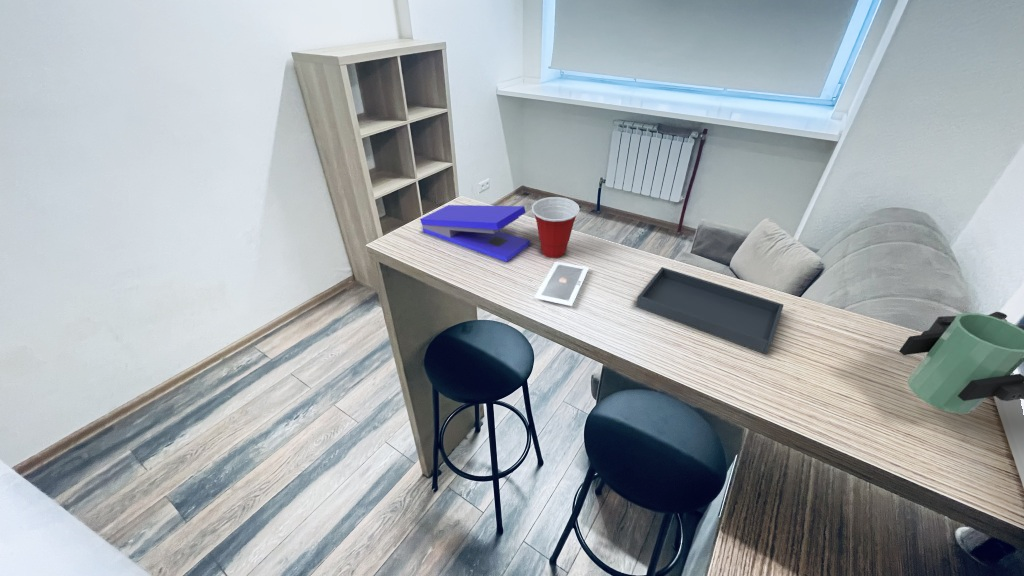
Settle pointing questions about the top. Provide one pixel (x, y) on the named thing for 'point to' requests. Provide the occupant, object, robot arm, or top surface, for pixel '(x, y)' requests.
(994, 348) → the tumbler
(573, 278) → the touchpad
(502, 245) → the stapler
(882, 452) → the top surface
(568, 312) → the top surface
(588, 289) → the top surface
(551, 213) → the plastic cup
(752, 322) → the tray
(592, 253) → the top surface
